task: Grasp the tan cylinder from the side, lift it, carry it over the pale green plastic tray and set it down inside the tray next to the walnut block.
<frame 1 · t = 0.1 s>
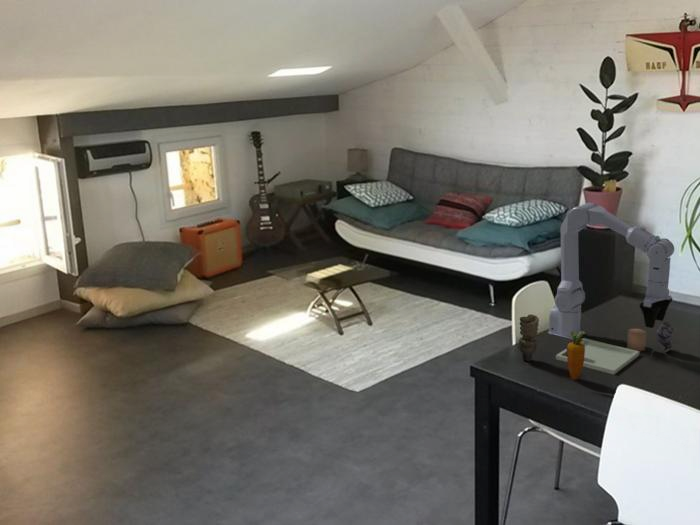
hand: (654, 323, 218), 10 cm above the table, fingers open, 7 cm apart
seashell: (663, 351, 222), on the table
walnut block: (574, 358, 218), point 1 cm above the table, touching tray
carrot: (574, 381, 204), on the table
tan cylinder: (635, 349, 224), on the table
brown carved statue: (527, 362, 218), on the table
tray: (597, 358, 218), on the table
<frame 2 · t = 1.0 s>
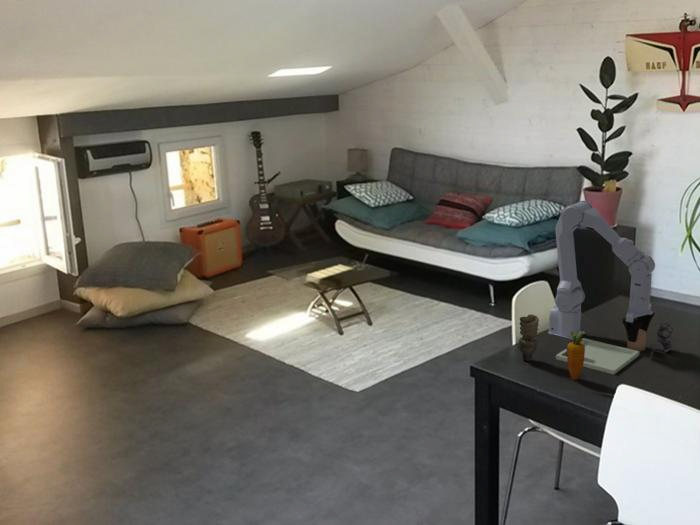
hand: (637, 337, 223), 4 cm above the table, fingers open, 7 cm apart
nothing on the table moved.
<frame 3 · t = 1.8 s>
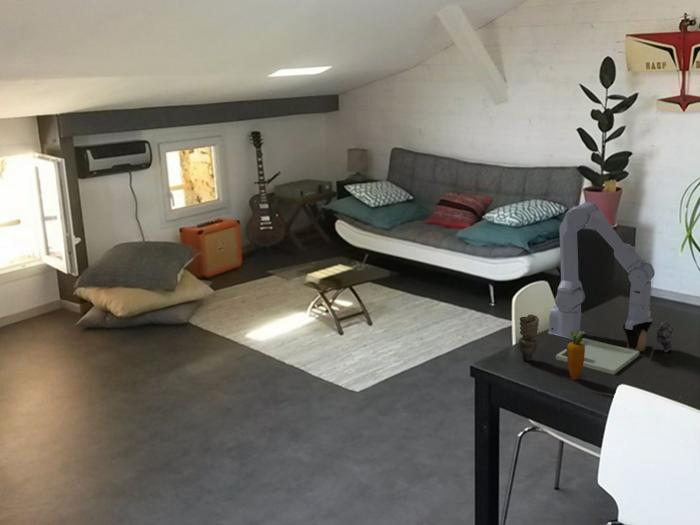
hand: (636, 344, 224), 2 cm above the table, fingers closed on tan cylinder, 5 cm apart
tan cylinder: (635, 349, 224), on the table, touching gripper
everything else where it was.
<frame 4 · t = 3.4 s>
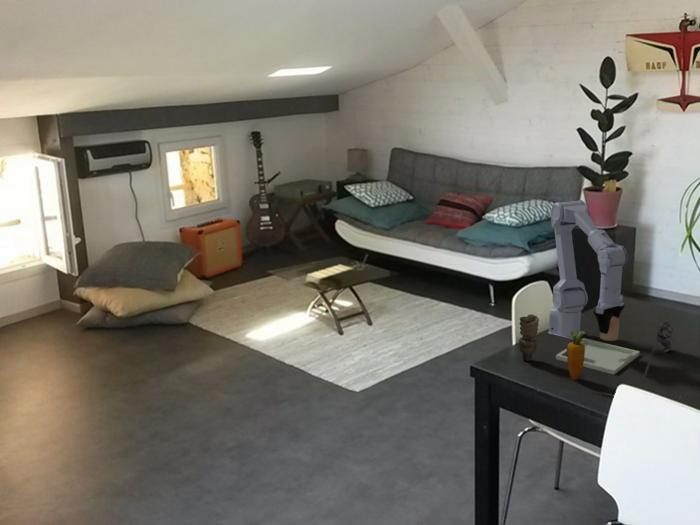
hand: (607, 330, 217), 9 cm above the table, fingers closed on tan cylinder, 5 cm apart
tan cylinder: (608, 337, 217), point 7 cm above the table, touching gripper
everything else where it was.
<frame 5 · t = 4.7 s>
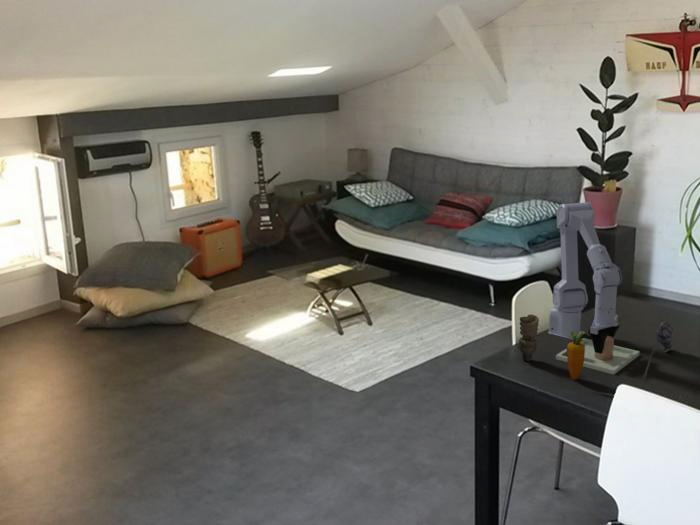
hand: (602, 349, 218), 3 cm above the table, fingers closed on tan cylinder, 5 cm apart
tan cylinder: (603, 357, 218), point 1 cm above the table, touching gripper
everything else where it was.
when the fingers open (3 cm above the table, at t = 5.2 s): tan cylinder stays where it is, resting on tray.
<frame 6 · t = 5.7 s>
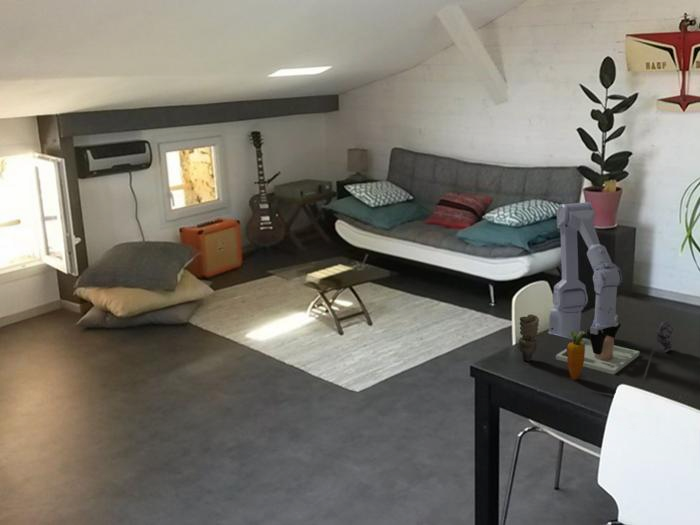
hand: (602, 349, 218), 3 cm above the table, fingers open, 7 cm apart
tan cylinder: (603, 357, 218), point 1 cm above the table, touching tray
everything else where it was.
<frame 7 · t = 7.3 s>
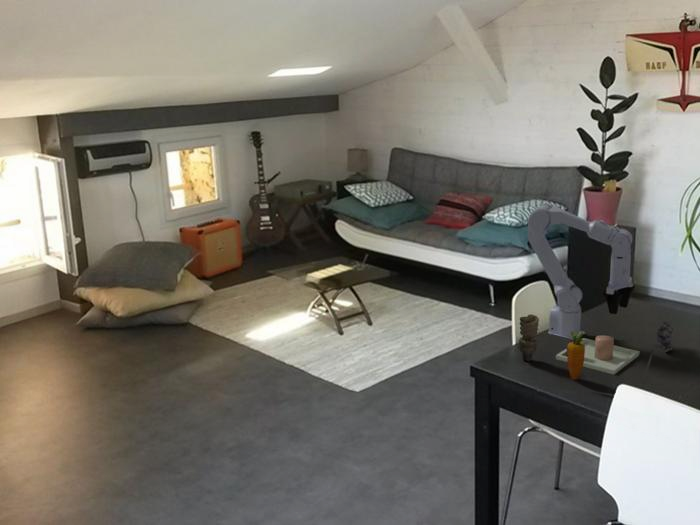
hand: (618, 310, 229), 10 cm above the table, fingers open, 7 cm apart
nothing on the table moved.
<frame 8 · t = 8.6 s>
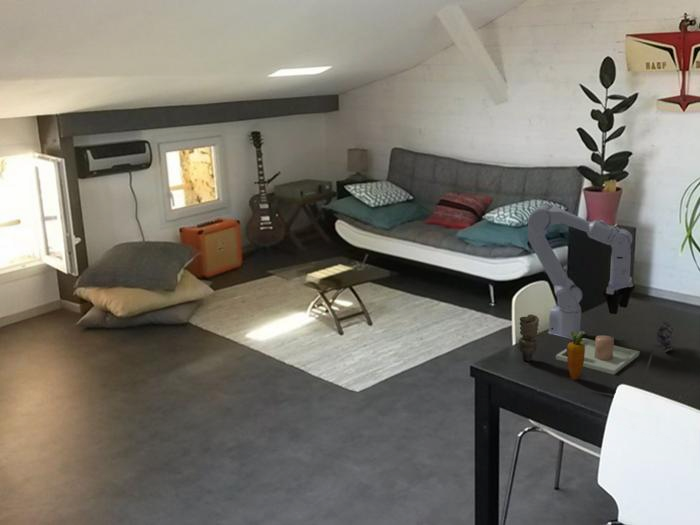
hand: (618, 310, 229), 10 cm above the table, fingers open, 7 cm apart
nothing on the table moved.
at the end: tan cylinder inside the target area on the tray (1.7 cm from its centre), point 0.6 cm above the tray's base; tan cylinder tilted 0°; the gripper is holding nothing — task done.
